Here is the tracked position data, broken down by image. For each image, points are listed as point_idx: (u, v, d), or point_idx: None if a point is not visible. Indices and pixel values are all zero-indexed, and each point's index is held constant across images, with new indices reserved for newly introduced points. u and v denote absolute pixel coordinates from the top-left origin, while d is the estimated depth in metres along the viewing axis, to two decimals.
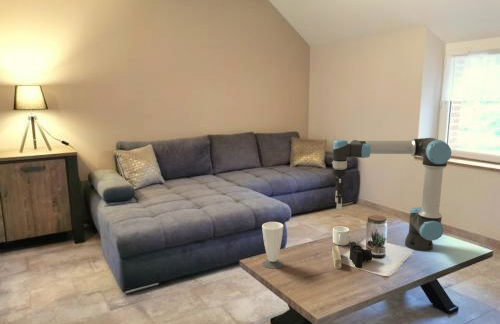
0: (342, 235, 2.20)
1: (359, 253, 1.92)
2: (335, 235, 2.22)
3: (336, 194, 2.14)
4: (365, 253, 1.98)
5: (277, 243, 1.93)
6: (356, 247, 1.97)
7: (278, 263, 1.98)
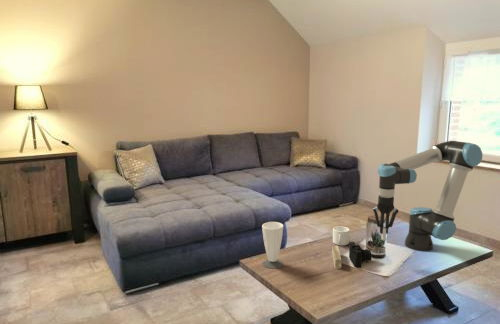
0: (342, 235, 2.20)
1: (358, 253, 1.92)
2: (335, 235, 2.22)
3: None
4: (364, 253, 1.98)
5: (277, 243, 1.93)
6: (355, 247, 1.97)
7: (278, 263, 1.98)
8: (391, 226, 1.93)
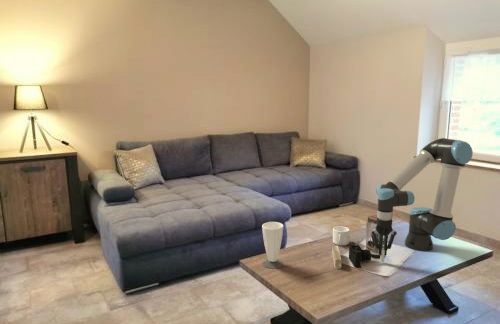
0: (342, 235, 2.20)
1: (358, 253, 1.92)
2: (335, 235, 2.22)
3: None
4: (364, 253, 1.98)
5: (277, 243, 1.93)
6: (355, 247, 1.97)
7: (278, 263, 1.98)
8: (390, 248, 1.95)
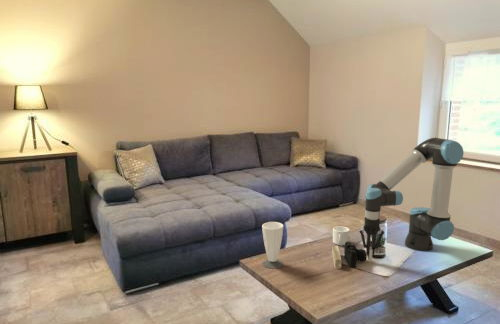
0: (342, 235, 2.20)
1: (353, 253, 1.92)
2: (335, 235, 2.22)
3: None
4: (359, 253, 1.98)
5: (277, 243, 1.93)
6: (350, 247, 1.97)
7: (278, 263, 1.98)
8: (377, 247, 1.96)
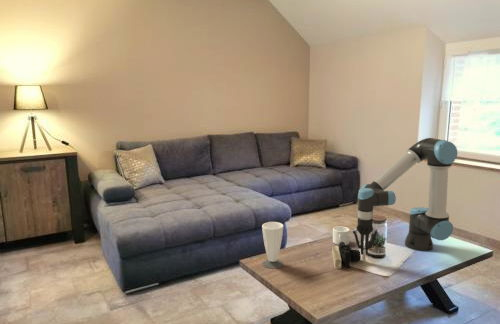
0: (342, 235, 2.20)
1: (347, 253, 1.92)
2: (335, 235, 2.22)
3: None
4: (353, 253, 1.97)
5: (277, 243, 1.93)
6: (344, 247, 1.97)
7: (278, 263, 1.98)
8: (370, 247, 1.96)
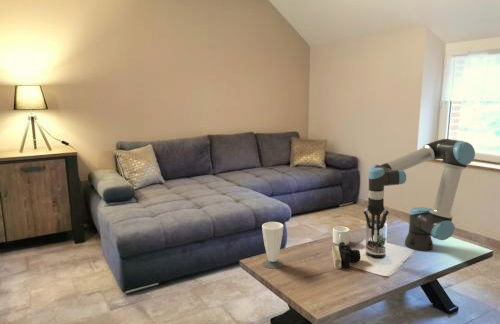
0: (342, 235, 2.20)
1: (347, 253, 1.92)
2: (335, 235, 2.22)
3: None
4: (353, 253, 1.97)
5: (277, 243, 1.93)
6: (344, 247, 1.97)
7: (278, 263, 1.98)
8: (382, 227, 1.94)
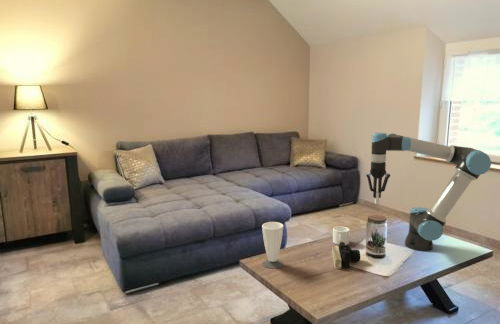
0: (342, 235, 2.20)
1: (347, 253, 1.92)
2: (335, 235, 2.22)
3: None
4: (353, 253, 1.97)
5: (277, 243, 1.93)
6: (344, 247, 1.97)
7: (278, 263, 1.98)
8: (384, 190, 2.03)
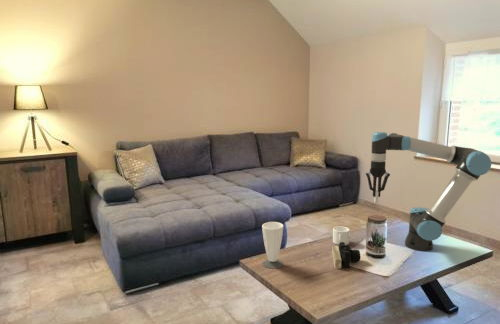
0: (342, 235, 2.20)
1: (347, 253, 1.92)
2: (335, 235, 2.22)
3: None
4: (353, 253, 1.97)
5: (277, 243, 1.93)
6: (344, 247, 1.97)
7: (278, 263, 1.98)
8: (383, 189, 2.04)
